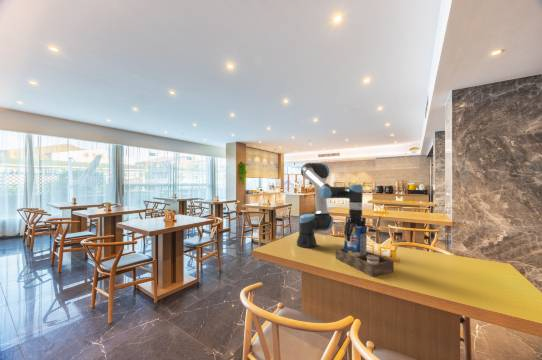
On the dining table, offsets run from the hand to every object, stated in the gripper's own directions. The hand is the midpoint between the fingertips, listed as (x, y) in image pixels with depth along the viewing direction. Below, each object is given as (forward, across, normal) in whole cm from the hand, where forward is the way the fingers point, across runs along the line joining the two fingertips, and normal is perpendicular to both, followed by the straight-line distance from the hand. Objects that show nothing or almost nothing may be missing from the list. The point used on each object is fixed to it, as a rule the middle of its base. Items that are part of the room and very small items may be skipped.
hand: (354, 245), depth 135 cm
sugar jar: (+10, 0, -13) cm, 17 cm away
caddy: (+10, 0, -6) cm, 12 cm away
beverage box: (+10, 0, 0) cm, 10 cm away
